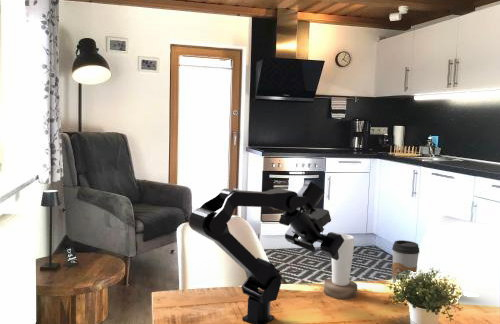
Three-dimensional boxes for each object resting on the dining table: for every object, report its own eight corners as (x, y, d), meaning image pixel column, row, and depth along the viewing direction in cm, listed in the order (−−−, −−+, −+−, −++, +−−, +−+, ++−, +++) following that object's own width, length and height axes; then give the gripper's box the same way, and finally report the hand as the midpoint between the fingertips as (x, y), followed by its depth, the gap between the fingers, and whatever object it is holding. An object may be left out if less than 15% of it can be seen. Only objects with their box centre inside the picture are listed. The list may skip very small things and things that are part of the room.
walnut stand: (349, 302, 134) (350, 292, 134) (318, 294, 140) (319, 284, 140) (361, 292, 143) (361, 282, 142) (331, 284, 148) (332, 275, 148)
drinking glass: (355, 287, 139) (358, 239, 137) (334, 288, 137) (337, 239, 136) (345, 279, 145) (348, 233, 144) (325, 280, 144) (328, 233, 142)
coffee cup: (384, 287, 147) (387, 242, 146) (398, 282, 153) (401, 238, 152) (408, 295, 141) (411, 248, 140) (421, 289, 147) (424, 244, 145)
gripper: (341, 206, 123) (364, 240, 131) (293, 195, 138) (316, 227, 146) (320, 238, 119) (345, 272, 127) (273, 224, 133) (298, 255, 141)
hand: (325, 254), depth 135 cm, fingers open, 9 cm apart
